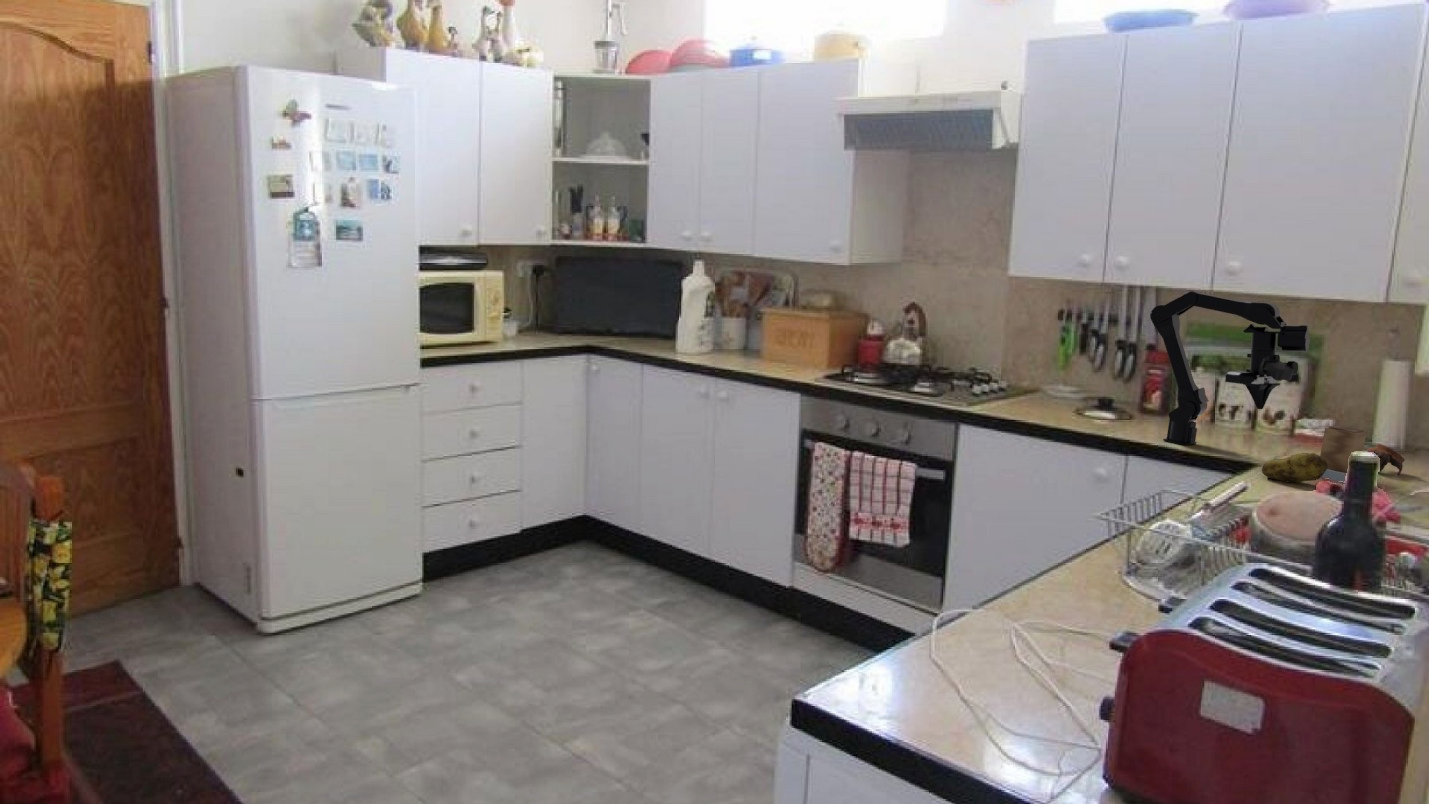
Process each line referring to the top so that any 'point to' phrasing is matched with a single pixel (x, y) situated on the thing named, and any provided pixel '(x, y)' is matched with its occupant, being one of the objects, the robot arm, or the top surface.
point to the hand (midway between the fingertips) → (1260, 409)
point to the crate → (1341, 446)
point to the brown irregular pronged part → (1387, 457)
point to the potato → (1296, 468)
